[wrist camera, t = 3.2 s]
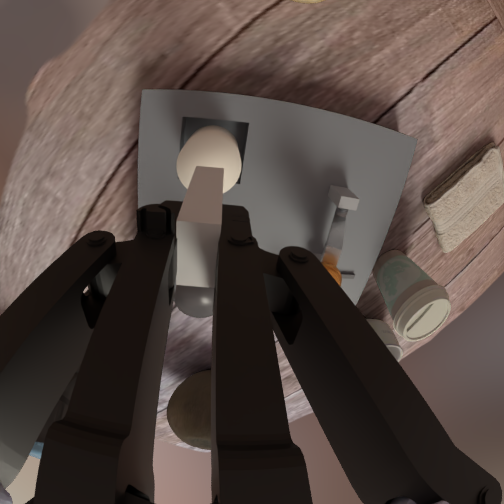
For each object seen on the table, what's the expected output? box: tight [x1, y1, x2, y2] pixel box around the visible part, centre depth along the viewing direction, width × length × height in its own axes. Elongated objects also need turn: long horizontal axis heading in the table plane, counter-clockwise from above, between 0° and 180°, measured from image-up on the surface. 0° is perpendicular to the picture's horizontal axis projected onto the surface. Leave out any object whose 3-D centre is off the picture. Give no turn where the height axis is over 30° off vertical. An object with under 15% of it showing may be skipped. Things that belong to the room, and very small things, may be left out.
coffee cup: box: [373, 250, 451, 342], centre depth 34 cm, size 9×8×12 cm
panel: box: [138, 89, 418, 306], centre depth 30 cm, size 28×24×7 cm
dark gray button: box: [174, 285, 214, 318], centre depth 29 cm, size 5×5×6 cm
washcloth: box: [423, 142, 504, 253], centre depth 33 cm, size 12×18×3 cm, turn 131°
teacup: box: [366, 319, 403, 362], centre depth 43 cm, size 14×11×8 cm
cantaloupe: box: [167, 370, 211, 450], centre depth 44 cm, size 14×14×15 cm
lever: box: [320, 207, 348, 287], centre depth 25 cm, size 3×6×10 cm, turn 172°
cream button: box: [176, 125, 241, 193], centre depth 22 cm, size 5×5×6 cm
